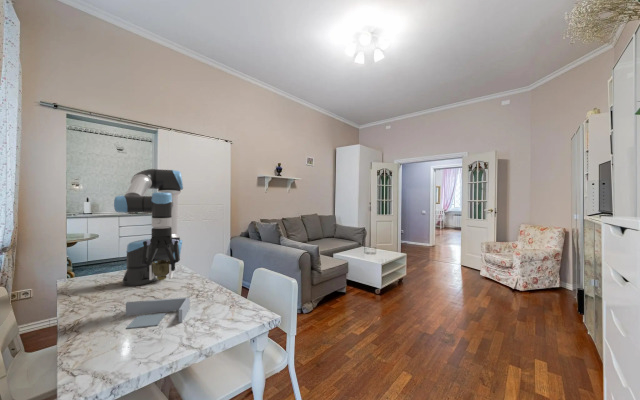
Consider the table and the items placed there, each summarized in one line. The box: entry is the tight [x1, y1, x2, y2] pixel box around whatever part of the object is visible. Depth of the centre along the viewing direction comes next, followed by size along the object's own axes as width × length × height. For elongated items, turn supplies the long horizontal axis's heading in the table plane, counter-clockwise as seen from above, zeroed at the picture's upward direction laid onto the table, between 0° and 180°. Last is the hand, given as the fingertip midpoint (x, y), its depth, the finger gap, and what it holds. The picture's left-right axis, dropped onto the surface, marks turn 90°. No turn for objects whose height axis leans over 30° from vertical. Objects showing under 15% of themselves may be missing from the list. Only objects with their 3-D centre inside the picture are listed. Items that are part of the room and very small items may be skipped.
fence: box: [125, 296, 191, 324], centre depth 99 cm, size 13×23×5 cm, turn 105°
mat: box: [125, 312, 167, 330], centre depth 97 cm, size 10×10×1 cm
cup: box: [152, 259, 171, 281], centre depth 112 cm, size 8×7×8 cm
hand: (161, 278), depth 112 cm, fingers closed on cup, 7 cm apart
